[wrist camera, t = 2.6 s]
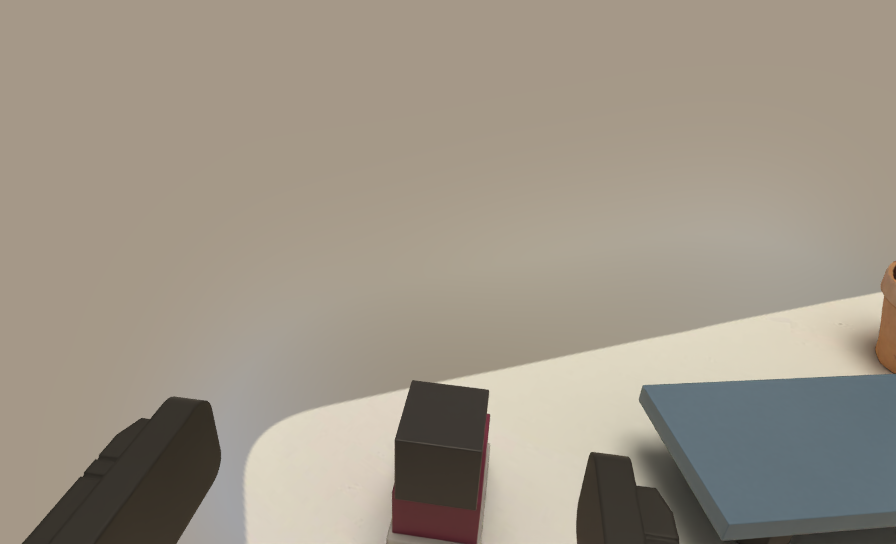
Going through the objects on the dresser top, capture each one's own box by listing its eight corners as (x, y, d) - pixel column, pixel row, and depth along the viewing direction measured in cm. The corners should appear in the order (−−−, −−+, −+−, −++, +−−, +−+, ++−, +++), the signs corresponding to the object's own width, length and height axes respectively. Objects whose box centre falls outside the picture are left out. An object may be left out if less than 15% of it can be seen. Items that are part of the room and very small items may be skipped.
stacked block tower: (477, 576, 28) (492, 453, 24) (386, 562, 29) (385, 438, 25) (489, 444, 36) (502, 332, 32) (417, 434, 36) (420, 323, 32)
